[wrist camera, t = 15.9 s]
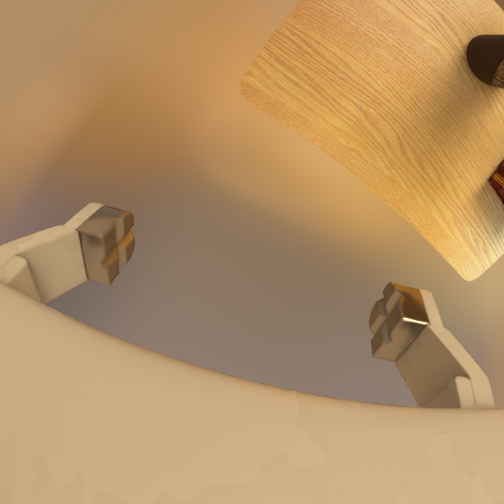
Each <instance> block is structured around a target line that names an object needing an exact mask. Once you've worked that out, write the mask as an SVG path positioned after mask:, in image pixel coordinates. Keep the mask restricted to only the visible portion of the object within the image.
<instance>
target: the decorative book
mask: <svg viewBox="0 0 504 504" xmlns="http://www.w3.org/2000/svg"><path fill="white" fill-rule="evenodd" d="M498 167H499V170H498V171H497V172H496V173H495V174H494V175H493V176H492V177H491V179H490V180H489V181H490V183H491V184H492V186H493V187H494V189H495V190H496V192H497V194H498V195H499V197H500V198H501V200H502V202H503V203H504V160H503V162H502V163H501V164H500V165H499V166H498Z"/></svg>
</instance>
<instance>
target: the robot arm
mask: <svg viewBox="0 0 504 504" xmlns="http://www.w3.org/2000/svg"><path fill="white" fill-rule="evenodd" d="M133 225H134V220H133V215H132V214H131V213H130V212H127V211H123V210H120V209H116V208H113V207H109V206H105V205H101V204H98V203H89V204H88V205H87V206H86V207H84V208H83V209H82V210H81V211H80V212H78V213H77V214H76V215H75V216H74V217H72V218H71V219H70V220H69V221H68V222H67V223H66V224H64V225H63V226H60V225H58V226H55V227H52V228H49V229H46V230H43V231H40V232H37V233H34V234H31V235H28V236H25V237H23V238H20V239H17V240H14V241H11V242H9V243H6V244H3V245H1V246H0V504H504V408H495V404H494V400H493V395H492V392H491V388H490V384H489V380H488V378H487V376H486V375H485V374H484V372H483V371H482V370H481V369H480V367H479V366H478V365H477V364H476V363H475V361H474V360H473V359H472V358H471V356H470V355H469V354H468V353H467V352H466V351H465V349H464V348H463V347H462V346H461V345H460V343H459V342H458V341H457V340H456V339H455V338H454V337H453V335H452V334H451V333H450V332H449V331H448V330H447V329H444V328H443V324H442V321H441V318H440V315H439V312H438V309H437V306H436V304H435V301H434V298H433V295H432V294H431V293H430V292H429V291H425V290H421V289H415V288H411V287H407V286H403V285H400V284H396V283H392V282H390V283H389V284H388V285H386V287H385V289H384V290H383V295H384V298H382V299H380V300H378V301H377V302H376V303H375V305H374V307H373V309H372V312H371V315H370V321H369V325H370V330H371V332H372V333H373V334H374V337H373V339H372V340H371V345H372V355H373V358H377V359H382V360H387V361H392V362H396V363H395V364H396V366H397V368H398V369H399V371H400V373H401V375H402V376H403V378H404V380H405V382H406V383H407V385H408V387H409V389H410V391H411V392H412V394H413V396H414V398H415V400H416V402H417V403H418V405H419V407H408V406H397V405H386V404H376V403H368V402H360V401H353V400H346V399H339V398H332V397H326V396H320V395H315V394H309V393H304V392H299V391H293V390H289V389H284V388H279V387H275V386H270V385H266V384H262V383H258V382H253V381H249V380H245V379H242V378H238V377H234V376H230V375H227V374H223V373H219V372H216V371H212V370H209V369H206V368H202V367H199V366H196V365H192V364H189V363H186V362H183V361H180V360H177V359H174V358H171V357H168V356H165V355H162V354H159V353H156V352H154V351H151V350H148V349H145V348H143V347H140V346H137V345H134V344H132V343H129V342H127V341H124V340H122V339H119V338H117V337H114V336H112V335H109V334H107V333H104V332H102V331H100V330H97V329H95V328H93V327H91V326H88V325H86V324H84V323H81V322H79V321H77V320H75V319H73V318H71V317H68V316H66V315H64V314H62V313H60V312H58V311H56V310H54V309H52V308H50V307H48V306H46V305H44V304H46V303H48V302H49V301H51V300H53V299H54V298H56V297H58V296H60V295H61V294H63V293H65V292H67V291H68V290H70V289H72V288H74V287H76V286H78V285H79V284H81V283H83V282H85V281H87V279H90V280H93V281H96V282H99V283H102V284H105V285H108V286H110V284H111V283H112V282H113V280H114V279H115V278H116V277H117V275H118V274H119V267H120V266H122V265H125V264H127V262H128V261H129V259H130V258H131V256H132V253H133V250H134V243H135V240H134V235H133V234H132V232H131V230H130V229H131V227H132V226H133Z"/></svg>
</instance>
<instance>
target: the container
mask: <svg viewBox="0 0 504 504" xmlns="http://www.w3.org/2000/svg"><path fill="white" fill-rule="evenodd" d="M467 58H468V63H469V65H470V67H471V69H472V71H473V72H474V74H475V75H476V76H477V77H478V78H479V79H480V80H481V81H483V82H484V83H486V84H488V85H491V86H496V87H500V88H504V35H480V36H477V37H475V38H474V39H472V41H471V42H470V44H469V46H468V50H467Z"/></svg>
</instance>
